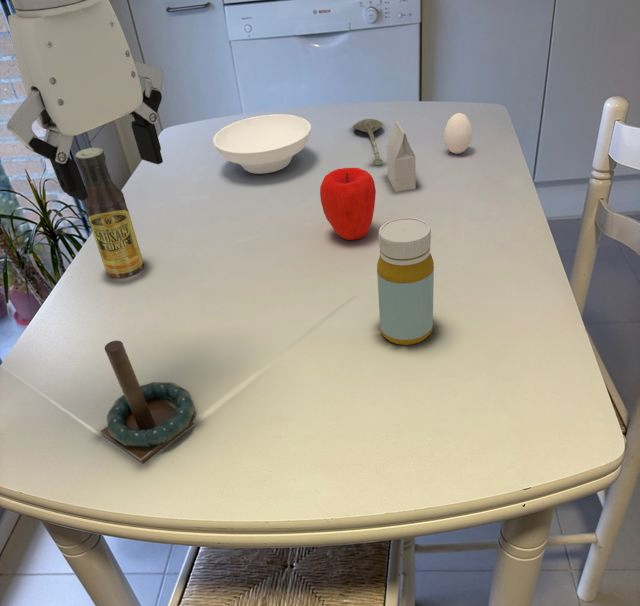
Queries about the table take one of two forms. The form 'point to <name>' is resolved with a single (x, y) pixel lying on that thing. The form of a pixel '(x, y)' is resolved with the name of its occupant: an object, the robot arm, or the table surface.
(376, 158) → the soupspoon
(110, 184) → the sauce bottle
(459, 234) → the table surface
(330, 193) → the apple
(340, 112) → the table surface
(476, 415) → the table surface
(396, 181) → the milk carton
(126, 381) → the peg stand
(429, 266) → the bottle
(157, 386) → the ring
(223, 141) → the bowl
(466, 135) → the egg
